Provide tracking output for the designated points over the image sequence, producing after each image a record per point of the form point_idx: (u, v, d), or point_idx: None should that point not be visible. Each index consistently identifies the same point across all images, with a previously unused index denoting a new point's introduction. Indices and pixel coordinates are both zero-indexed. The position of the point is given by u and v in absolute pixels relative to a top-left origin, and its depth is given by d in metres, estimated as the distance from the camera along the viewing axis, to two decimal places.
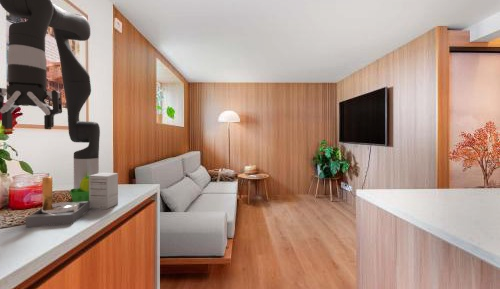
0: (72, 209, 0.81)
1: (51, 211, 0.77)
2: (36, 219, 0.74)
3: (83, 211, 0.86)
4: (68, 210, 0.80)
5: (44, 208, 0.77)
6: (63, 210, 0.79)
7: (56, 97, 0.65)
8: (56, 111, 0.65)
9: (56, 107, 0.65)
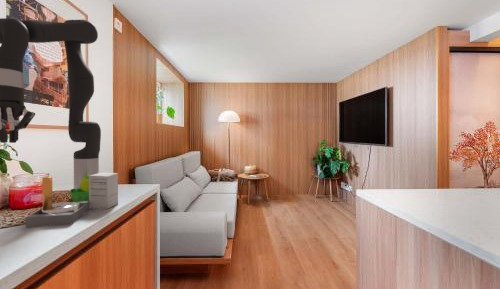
0: (72, 209, 0.81)
1: (51, 211, 0.77)
2: (36, 219, 0.74)
3: (83, 211, 0.86)
4: (68, 210, 0.80)
5: (44, 208, 0.77)
6: (63, 210, 0.79)
7: (27, 117, 0.76)
8: (20, 127, 0.75)
9: (21, 124, 0.75)
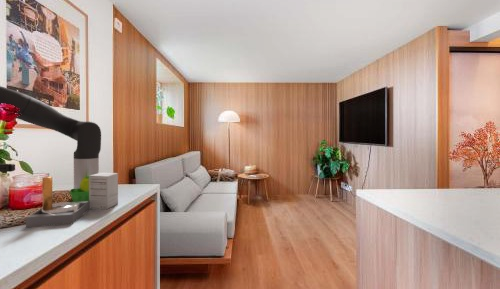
0: (72, 209, 0.81)
1: (51, 211, 0.77)
2: (36, 219, 0.74)
3: (83, 211, 0.86)
4: (68, 210, 0.80)
5: (44, 208, 0.77)
6: (63, 210, 0.79)
7: None
8: None
9: None
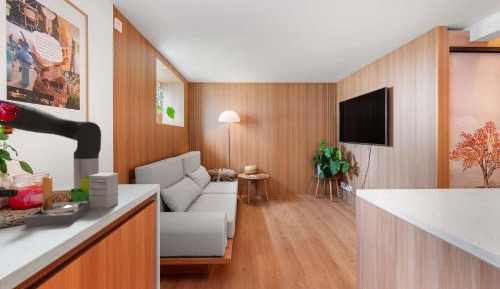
0: (72, 209, 0.81)
1: (51, 211, 0.77)
2: (36, 219, 0.74)
3: (83, 211, 0.86)
4: (68, 210, 0.80)
5: (44, 208, 0.77)
6: (63, 210, 0.79)
7: None
8: None
9: None
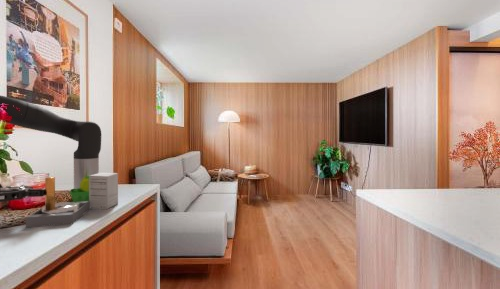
0: None
1: (56, 211, 0.78)
2: (36, 219, 0.74)
3: (83, 211, 0.86)
4: (73, 209, 0.81)
5: (48, 208, 0.77)
6: (68, 209, 0.80)
7: None
8: (20, 199, 0.73)
9: None
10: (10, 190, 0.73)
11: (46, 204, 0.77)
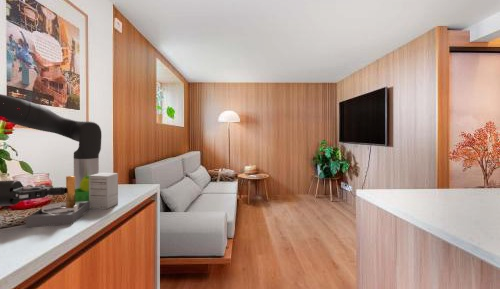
0: None
1: (78, 205, 0.84)
2: (36, 219, 0.74)
3: (83, 211, 0.86)
4: None
5: (74, 205, 0.81)
6: (78, 203, 0.86)
7: (28, 199, 0.73)
8: None
9: None
10: (33, 189, 0.76)
11: (72, 201, 0.81)
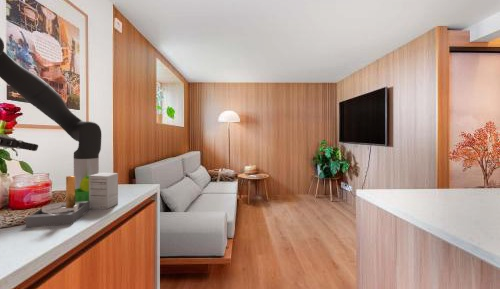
0: None
1: (78, 205, 0.84)
2: (36, 219, 0.74)
3: (83, 211, 0.86)
4: None
5: (74, 205, 0.81)
6: (78, 203, 0.86)
7: None
8: (13, 147, 0.75)
9: (9, 147, 0.74)
10: (4, 137, 0.75)
11: (72, 201, 0.81)
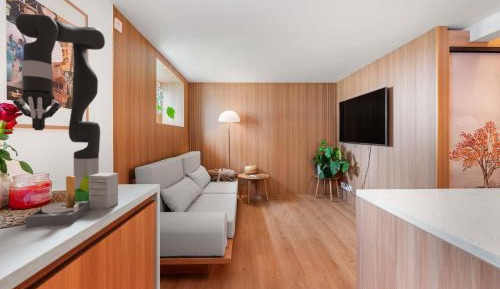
0: None
1: (78, 205, 0.84)
2: (36, 219, 0.74)
3: (83, 211, 0.86)
4: None
5: (74, 205, 0.81)
6: (78, 203, 0.86)
7: (55, 107, 0.81)
8: (46, 115, 0.81)
9: (48, 113, 0.81)
10: None
11: (72, 201, 0.81)
